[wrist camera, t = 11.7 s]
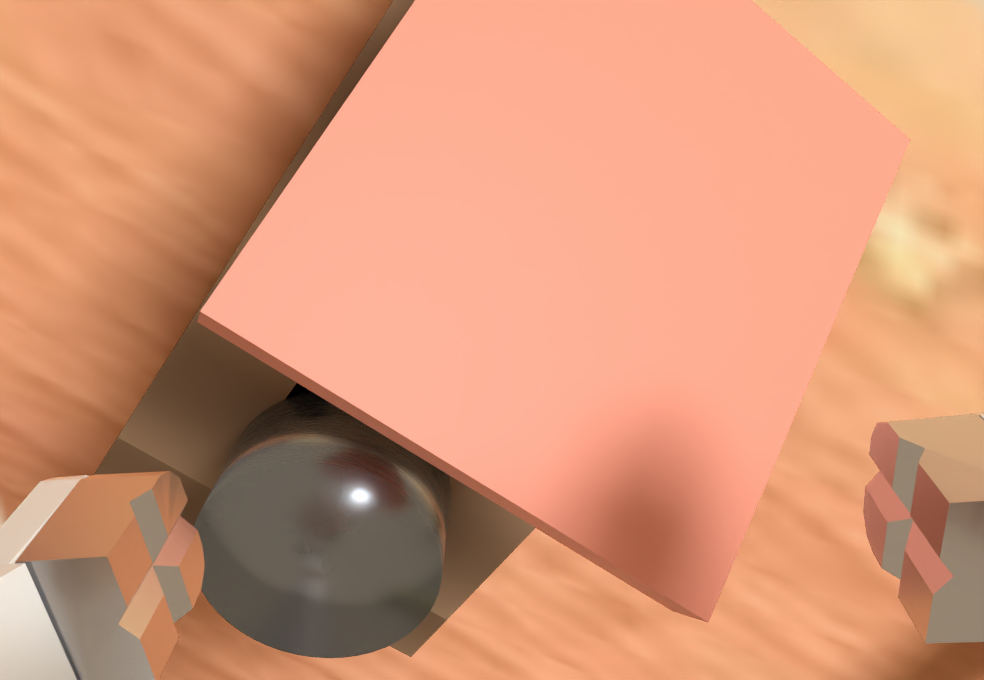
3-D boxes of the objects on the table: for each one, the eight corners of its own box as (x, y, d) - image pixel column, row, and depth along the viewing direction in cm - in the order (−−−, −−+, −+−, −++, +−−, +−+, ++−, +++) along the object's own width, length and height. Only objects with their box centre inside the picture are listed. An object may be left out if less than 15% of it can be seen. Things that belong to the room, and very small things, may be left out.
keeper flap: (672, 611, 14) (708, 622, 13) (197, 321, 12) (200, 311, 11) (870, 156, 17) (910, 139, 16) (518, -144, 15) (541, -184, 14)
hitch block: (429, 522, 29) (411, 657, 24) (173, 372, 27) (88, 484, 21) (803, 101, 23) (894, 155, 17) (508, -151, 20) (506, -179, 15)
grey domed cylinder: (333, 485, 27) (269, 683, 20) (246, 344, 25) (141, 510, 18) (489, 431, 26) (481, 619, 19) (414, 279, 24) (372, 427, 17)
